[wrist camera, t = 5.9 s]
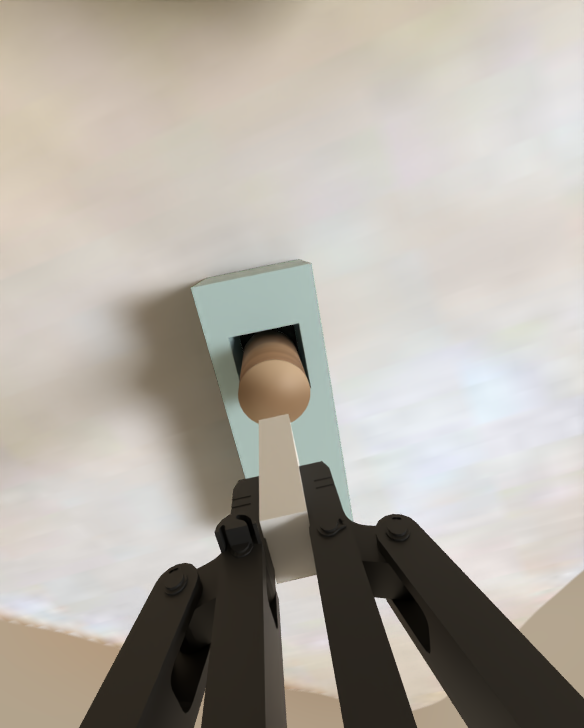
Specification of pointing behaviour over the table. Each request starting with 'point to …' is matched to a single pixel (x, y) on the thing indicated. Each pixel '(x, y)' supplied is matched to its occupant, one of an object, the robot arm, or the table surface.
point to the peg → (272, 378)
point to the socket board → (298, 307)
